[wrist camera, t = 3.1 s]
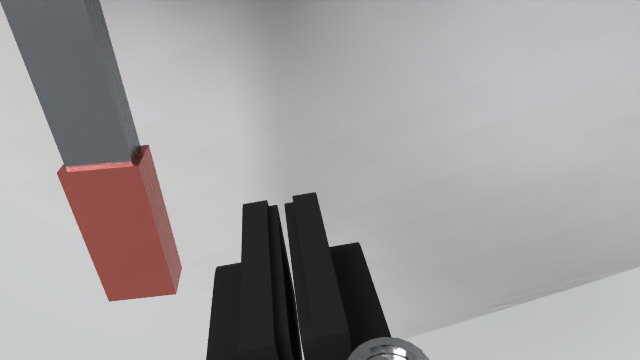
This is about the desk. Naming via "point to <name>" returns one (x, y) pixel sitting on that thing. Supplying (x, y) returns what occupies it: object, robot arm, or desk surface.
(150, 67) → the desk surface
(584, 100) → the desk surface
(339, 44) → the desk surface
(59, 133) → the lever
